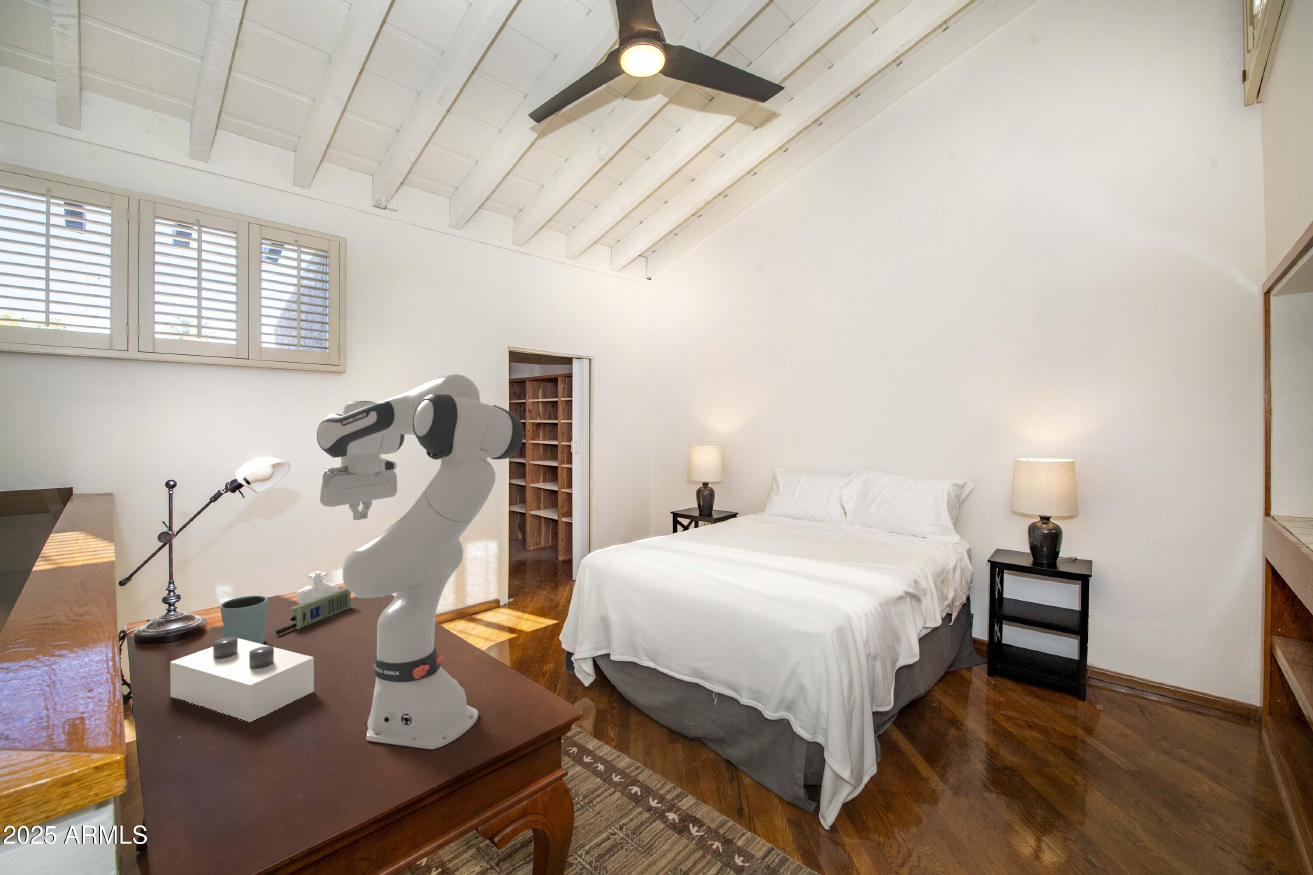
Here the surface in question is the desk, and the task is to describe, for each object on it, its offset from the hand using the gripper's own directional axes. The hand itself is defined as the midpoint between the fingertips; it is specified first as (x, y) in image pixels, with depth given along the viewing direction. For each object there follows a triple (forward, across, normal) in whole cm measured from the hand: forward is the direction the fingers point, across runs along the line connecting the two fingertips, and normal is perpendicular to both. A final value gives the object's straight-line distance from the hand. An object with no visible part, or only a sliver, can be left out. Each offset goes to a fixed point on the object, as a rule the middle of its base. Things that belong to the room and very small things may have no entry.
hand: (360, 519), depth 139 cm
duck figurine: (+37, +26, +48) cm, 66 cm away
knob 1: (+32, -22, +16) cm, 42 cm away
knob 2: (+32, -22, +4) cm, 39 cm away
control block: (+37, -22, +10) cm, 44 cm away
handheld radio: (+38, +15, +35) cm, 53 cm away
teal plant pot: (+37, -5, +36) cm, 52 cm away
